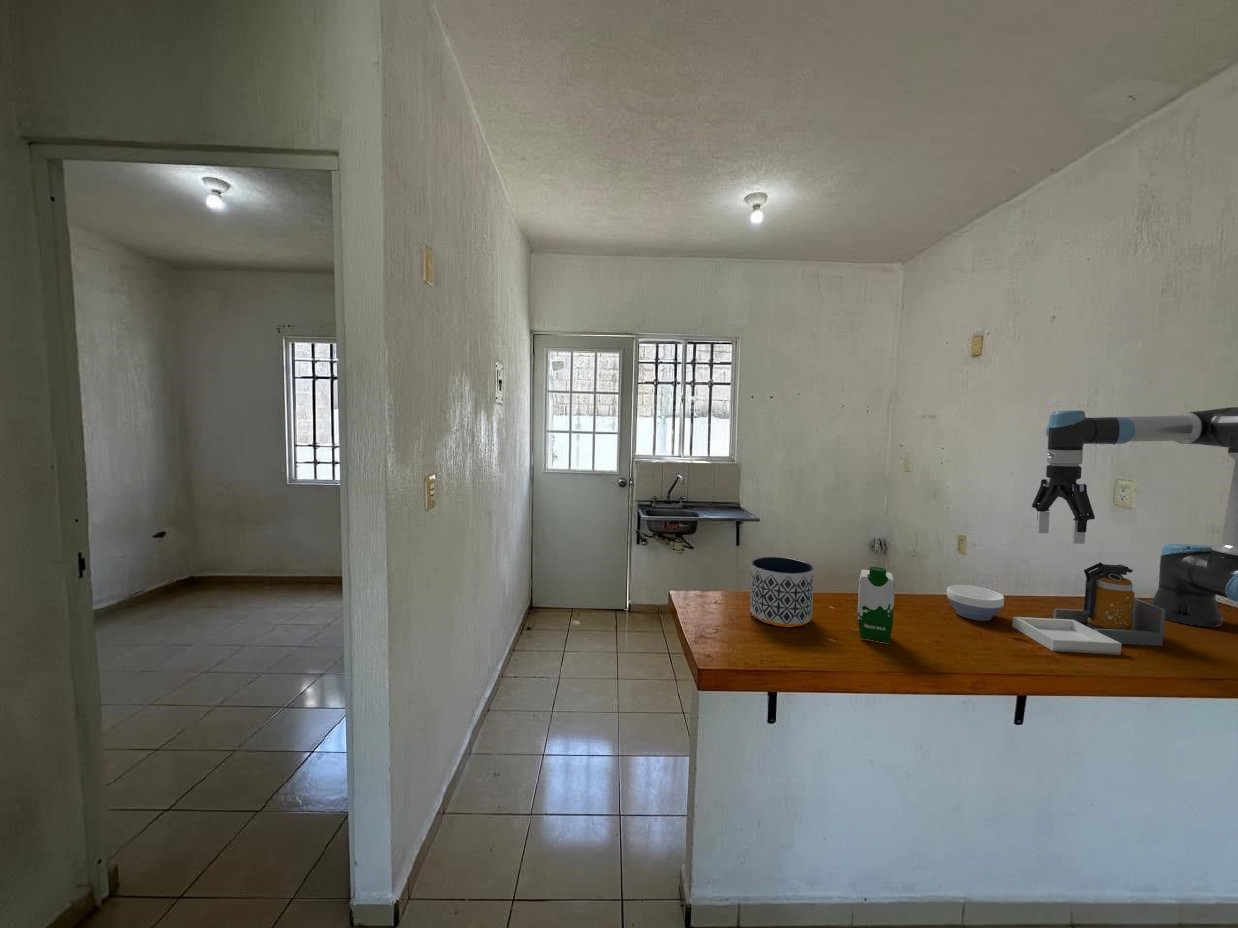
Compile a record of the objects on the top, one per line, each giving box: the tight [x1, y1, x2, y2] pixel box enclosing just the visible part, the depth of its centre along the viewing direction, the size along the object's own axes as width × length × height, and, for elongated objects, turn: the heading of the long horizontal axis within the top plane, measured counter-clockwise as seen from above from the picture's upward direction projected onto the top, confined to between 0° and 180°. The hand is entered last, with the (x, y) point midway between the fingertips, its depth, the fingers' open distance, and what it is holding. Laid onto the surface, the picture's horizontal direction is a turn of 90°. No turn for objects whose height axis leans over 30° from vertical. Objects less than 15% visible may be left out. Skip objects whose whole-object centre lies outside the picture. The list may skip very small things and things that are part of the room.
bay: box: [1052, 597, 1166, 646], centre depth 142 cm, size 16×16×10 cm
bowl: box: [946, 584, 1005, 622], centre depth 154 cm, size 14×14×8 cm
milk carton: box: [857, 566, 896, 644], centre depth 137 cm, size 9×9×20 cm
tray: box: [1012, 616, 1123, 656], centre depth 137 cm, size 16×16×3 cm
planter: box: [749, 556, 815, 625], centre depth 152 cm, size 18×18×16 cm
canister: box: [1081, 562, 1136, 630], centre depth 142 cm, size 9×11×20 cm
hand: (1059, 538), depth 143 cm, fingers open, 13 cm apart
